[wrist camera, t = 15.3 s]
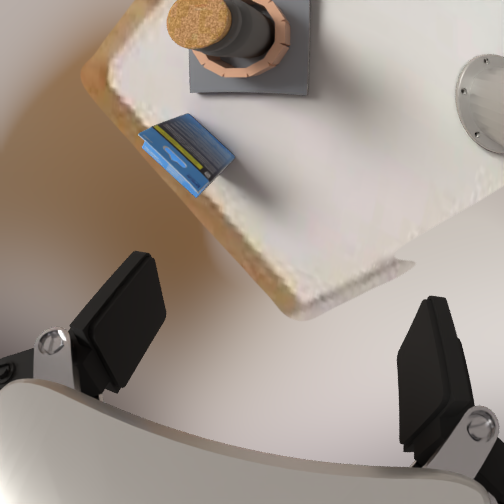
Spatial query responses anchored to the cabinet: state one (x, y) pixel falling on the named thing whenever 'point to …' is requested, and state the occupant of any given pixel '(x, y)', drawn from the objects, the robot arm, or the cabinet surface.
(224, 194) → the cabinet surface
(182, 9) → the bottle
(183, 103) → the cabinet surface
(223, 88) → the holder
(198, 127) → the label tape box
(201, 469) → the robot arm
